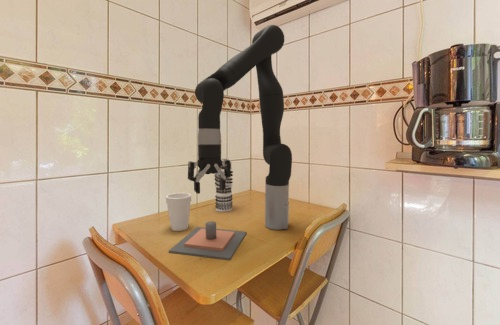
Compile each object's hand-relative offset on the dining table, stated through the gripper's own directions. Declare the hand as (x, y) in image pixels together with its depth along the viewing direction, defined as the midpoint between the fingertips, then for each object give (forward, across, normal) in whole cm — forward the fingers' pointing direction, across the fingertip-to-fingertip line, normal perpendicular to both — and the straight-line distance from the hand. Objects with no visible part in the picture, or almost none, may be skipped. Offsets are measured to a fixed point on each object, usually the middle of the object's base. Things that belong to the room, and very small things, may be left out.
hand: (210, 191), depth 80 cm
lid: (+17, 0, 0) cm, 17 cm away
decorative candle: (+18, -20, -31) cm, 41 cm away
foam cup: (+18, +6, -18) cm, 26 cm away
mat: (+18, 0, 0) cm, 18 cm away
